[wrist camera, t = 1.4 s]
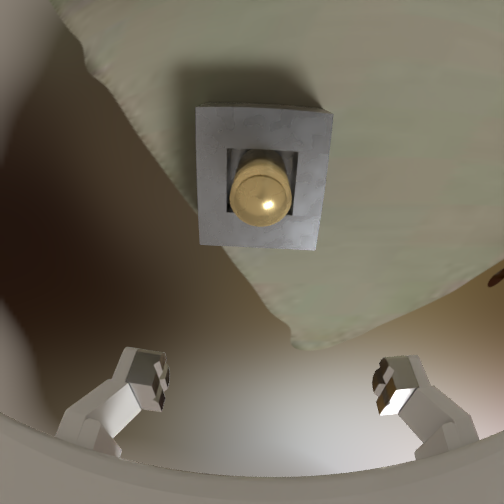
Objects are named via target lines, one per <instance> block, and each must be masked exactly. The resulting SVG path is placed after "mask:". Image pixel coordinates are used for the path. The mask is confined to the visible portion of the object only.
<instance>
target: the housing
mask: <svg viewBox="0 0 504 504" xmlns="http://www.w3.org/2000/svg"><path fill="white" fill-rule="evenodd" d="M332 124H333V114H332V113H330V112H328V111H327V110H325V109H322V108H313V107H303V106H292V105H278V104H260V103H204V104H202V105H199V106H197V107H196V168H197V197H198V218H199V236H200V245H218V246H239V247H259V248H279V249H299V250H315V249H316V243H317V237H318V231H319V225H320V218H321V211H322V205H323V198H324V190H325V183H326V175H327V168H328V159H329V151H330V142H331V133H332ZM251 149H264V150H274V151H275V152H277V153H278V154H279V155H280V156H281V158H282V159H283V161H284V164H285V168H286V172H287V177H288V181H289V185H290V190H291V195H292V202H291V206H290V209H289V211H288V213H287V214H286V215H285V217H284V218H283V219H281V220H280V221H279V222H277V223H275V224H273V225H270V226H264V227H258V226H252V225H249V224H247V223H245V222H243V221H242V220H240V219H239V218H238V217H237V216H236V215H235V213H234V212H233V210H232V208H231V204H230V192H231V188H232V184H233V181H234V177H235V174H236V170H237V166H238V163H239V160H240V159H241V157H242V156H243V155H244V154H245V153H246V152H247V151H249V150H251Z"/></svg>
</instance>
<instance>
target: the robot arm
mask: <svg viewBox="0 0 504 504" xmlns="http://www.w3.org/2000/svg"><path fill="white" fill-rule="evenodd" d="M165 362H166V355H165V353H163V352H157V351H150V350H144V349H138V348H131V347H126V348H125V349H124V351H123V353H122V355H121V358H120V360H119V363H118V365H117V367H116V370H115V372H114V375H113V377H112V380H111V379H108V380H106V381H105V382H104V383H102V384H101V385H99V386H98V387H97V388H95V389H94V390H93V391H91V392H90V393H89V394H87V395H86V396H84V397H83V398H82V399H80V400H79V401H78V402H76V403H75V404H73V405H72V406H71V407H69V408H68V409H66V411H65V413H64V416H63V418H62V420H61V423H60V425H59V428H58V430H57V433H56V435H55V437H54V436H51V435H49V434H47V433H44V432H42V431H39V430H37V429H35V428H32V427H30V426H28V425H26V424H23V423H21V422H19V421H17V420H15V419H13V418H11V417H9V416H7V415H5V414H3V413H1V412H0V504H504V430H503V431H501V432H499V433H497V434H494V435H492V436H490V437H487V438H484V439H482V440H479V437H478V435H477V432H476V429H475V427H474V424H473V421H472V418H471V416H470V415H469V414H468V413H467V412H465V411H464V410H463V409H462V408H460V407H459V406H458V405H457V404H456V403H454V402H453V401H452V400H451V399H450V398H448V397H447V396H446V395H445V394H443V393H442V392H441V391H440V390H439V389H437V388H436V387H435V386H431V385H430V382H429V380H428V377H427V375H426V373H425V370H424V367H423V365H422V363H421V361H420V358H419V356H418V355H409V356H396V357H385V358H383V359H381V361H380V363H379V365H380V368H379V369H377V370H376V371H375V373H374V375H373V380H372V386H373V391H374V393H375V394H376V395H377V396H378V399H377V401H376V403H377V407H378V411H379V415H388V414H397V413H398V415H399V416H400V417H401V418H402V419H403V421H404V422H405V423H406V424H407V425H408V426H409V427H410V429H411V430H412V431H413V432H414V433H415V434H416V435H417V436H418V438H419V439H420V440H421V441H422V442H423V444H422V445H421V446H420V447H419V448H418V449H417V450H416V451H415V458H416V460H415V461H410V462H406V463H402V464H397V465H392V466H387V467H382V468H376V469H370V470H364V471H357V472H349V473H341V474H331V475H319V476H302V477H245V476H228V475H215V474H206V473H197V472H190V471H182V470H176V469H170V468H164V467H158V466H154V465H149V464H144V463H139V462H135V461H131V460H126V459H123V458H120V455H121V451H122V450H121V448H120V447H119V445H118V444H117V443H116V442H115V441H114V439H113V438H114V437H115V436H116V435H117V434H118V433H119V432H120V431H121V430H122V428H124V427H125V426H126V425H127V424H128V423H129V422H130V421H131V420H132V419H133V418H134V417H135V416H136V415H137V414H138V413H139V412H140V411H141V409H145V410H152V411H158V412H162V409H163V406H164V402H165V395H164V391H165V390H166V389H168V386H169V380H170V370H169V366H168V365H167V364H166V363H165Z"/></svg>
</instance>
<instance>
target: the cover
mask: <svg viewBox="0 0 504 504" xmlns="http://www.w3.org/2000/svg"><path fill="white" fill-rule="evenodd" d="M291 202H292V195H291V190H290V185H289V181H288V177H287V172H286V168H285V164H284V161H283V159H282V158H281V156H280V155H279V154H278V153H277V152H275V151H274V150H264V149H251V150H249V151H247V152H246V153H245V154H244V155H243V156H242V157H241V159H240V160H239V163H238V166H237V170H236V174H235V177H234V181H233V184H232V188H231V192H230V204H231V208H232V210H233V212H234V213H235V215H236V216H237V217H238V218H239V219H240V220H242V221H243V222H245V223H247V224H249V225H252V226H258V227H264V226H270V225H273V224H275V223H277V222H279V221H280V220H281V219H283V218H284V217H285V215H286V214H287V213H288V211H289V209H290V206H291Z"/></svg>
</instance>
